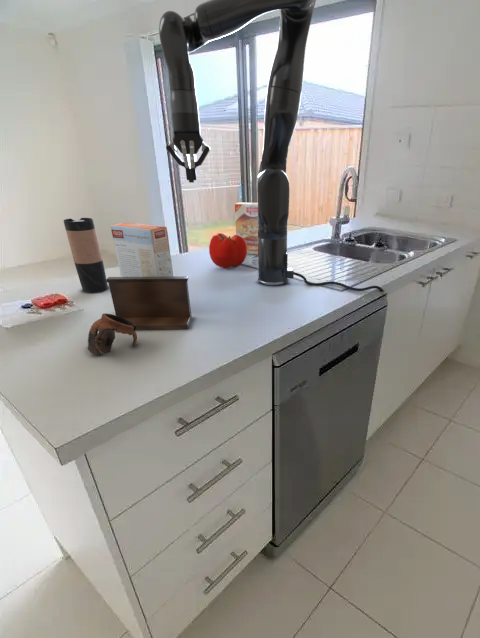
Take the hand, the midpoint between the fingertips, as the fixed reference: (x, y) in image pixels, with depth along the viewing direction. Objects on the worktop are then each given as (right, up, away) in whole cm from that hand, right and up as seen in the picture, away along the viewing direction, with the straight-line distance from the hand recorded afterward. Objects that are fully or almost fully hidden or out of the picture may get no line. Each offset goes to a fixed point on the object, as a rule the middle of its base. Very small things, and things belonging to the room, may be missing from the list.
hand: (192, 182), depth 112 cm
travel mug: (-30, -32, +2) cm, 44 cm away
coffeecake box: (+16, -6, +48) cm, 51 cm away
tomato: (+8, -18, +28) cm, 34 cm away
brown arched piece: (-9, -53, -32) cm, 63 cm away
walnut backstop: (-5, -46, -20) cm, 50 cm away
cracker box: (-9, -39, -9) cm, 41 cm away
